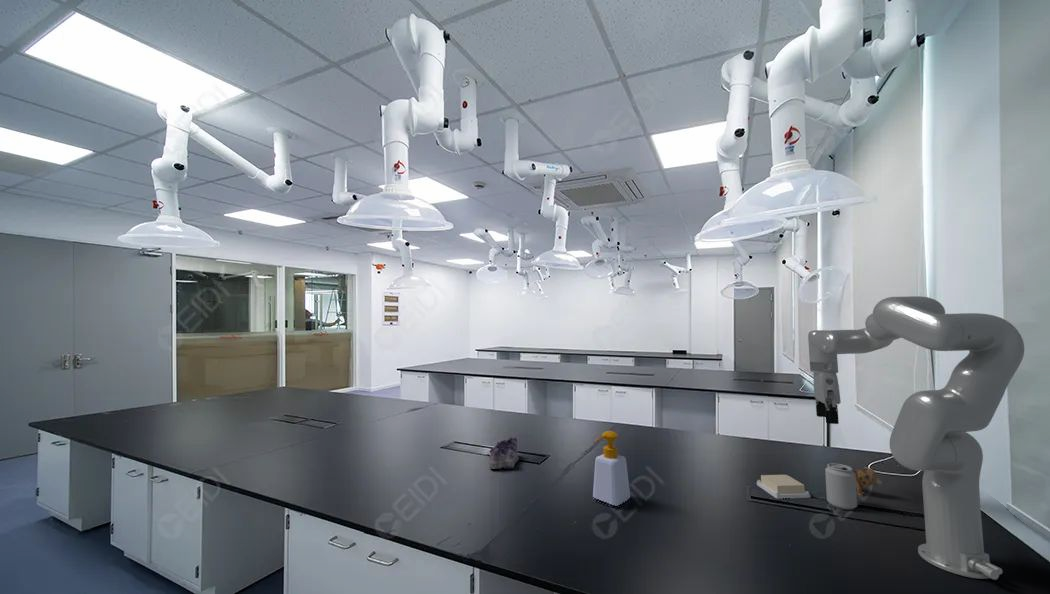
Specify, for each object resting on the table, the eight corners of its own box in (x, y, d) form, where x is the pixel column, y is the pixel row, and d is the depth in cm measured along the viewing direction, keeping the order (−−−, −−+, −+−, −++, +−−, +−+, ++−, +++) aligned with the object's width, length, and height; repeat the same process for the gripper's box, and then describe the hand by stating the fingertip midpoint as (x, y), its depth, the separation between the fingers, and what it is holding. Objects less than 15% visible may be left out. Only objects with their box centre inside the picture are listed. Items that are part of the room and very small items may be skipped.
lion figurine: (881, 496, 132) (879, 468, 132) (875, 500, 129) (873, 471, 129) (828, 481, 144) (826, 455, 145) (821, 485, 141) (820, 458, 142)
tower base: (810, 498, 131) (809, 486, 132) (776, 498, 131) (776, 487, 131) (787, 484, 142) (787, 473, 143) (756, 484, 142) (756, 474, 142)
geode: (496, 454, 179) (499, 431, 180) (522, 459, 177) (524, 436, 178) (483, 469, 159) (486, 444, 160) (511, 475, 157) (514, 449, 158)
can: (859, 513, 121) (857, 472, 122) (828, 507, 125) (826, 467, 125) (855, 503, 127) (852, 464, 128) (825, 498, 131) (823, 460, 132)
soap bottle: (583, 504, 129) (581, 434, 130) (607, 491, 139) (605, 425, 140) (608, 514, 123) (606, 440, 124) (632, 499, 132) (630, 430, 134)
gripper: (847, 370, 125) (851, 427, 124) (828, 365, 141) (831, 415, 140) (818, 370, 127) (821, 425, 126) (803, 364, 143) (806, 413, 142)
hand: (827, 419), depth 133 cm, fingers open, 9 cm apart
